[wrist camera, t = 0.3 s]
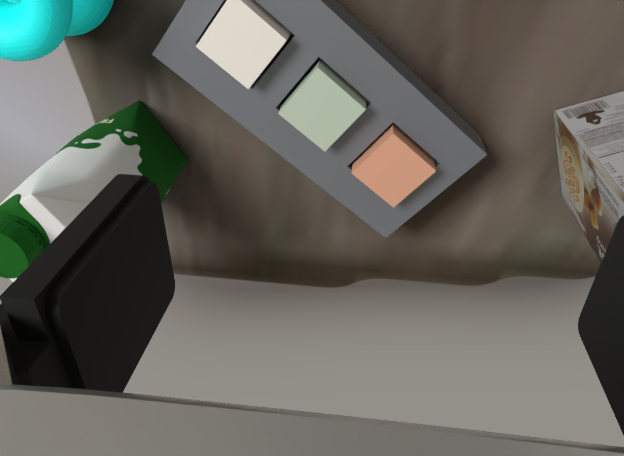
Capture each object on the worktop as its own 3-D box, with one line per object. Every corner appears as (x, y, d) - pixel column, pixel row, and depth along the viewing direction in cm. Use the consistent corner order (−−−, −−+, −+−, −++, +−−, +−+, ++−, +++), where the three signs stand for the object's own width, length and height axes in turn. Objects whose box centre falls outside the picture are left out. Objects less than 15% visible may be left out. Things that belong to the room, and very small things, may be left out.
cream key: (206, 36, 41) (195, 46, 39) (241, -15, 39) (232, -8, 36) (256, 77, 43) (248, 89, 40) (292, 30, 40) (286, 40, 38)
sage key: (283, 100, 44) (277, 113, 41) (321, 55, 41) (317, 67, 39) (328, 136, 45) (324, 151, 43) (366, 95, 42) (365, 109, 40)
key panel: (168, 41, 44) (151, 54, 41) (248, -83, 38) (235, -79, 35) (385, 215, 52) (385, 238, 48) (479, 134, 46) (487, 154, 42)
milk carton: (140, 86, 47) (10, 201, 30) (201, 163, 51) (116, 301, 34) (77, 130, 50) (-70, 254, 34) (139, 199, 54) (35, 340, 38)
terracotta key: (353, 157, 46) (351, 173, 43) (392, 118, 43) (393, 133, 41) (392, 190, 47) (393, 207, 45) (433, 154, 45) (436, 171, 42)
